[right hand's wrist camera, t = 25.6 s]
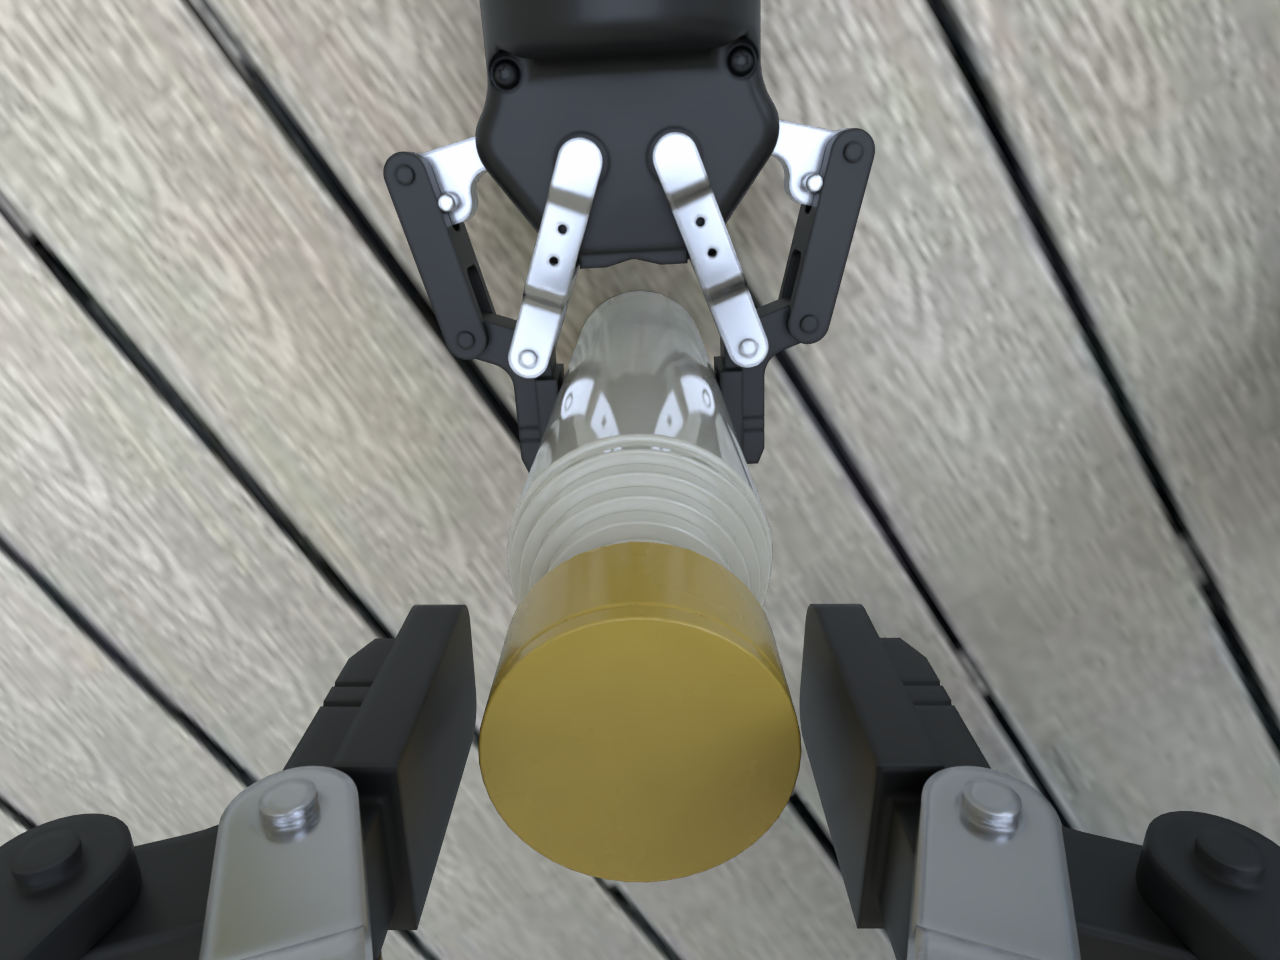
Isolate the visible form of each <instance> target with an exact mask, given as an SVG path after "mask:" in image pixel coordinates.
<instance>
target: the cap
mask: <svg viewBox="0 0 1280 960" xmlns="http://www.w3.org/2000/svg"><path fill="white" fill-rule="evenodd" d="M478 751H479V765H480V769H481V774H482V778H483V782H484V785H485V787H486V790H487V792H488V795H489V797H490V799H491V801H492V803H493V805H494V806H495V808H496V810H497V812H498V813H499V815H500V816H501V817H502V819H503V820H504V821H505V823H506V824H507V825H508V826H509V828H510V829H511V830H512V831H513V832H514V833H515V834H516V835H517V836H518V837H519V838H520V839H521V840H522V841H524V842H525V843H526V844H528V845H529V846H530V847H531V848H533V849H534V850H535V851H537V852H538V853H540V854H542V855H543V856H545V857H547V858H548V859H550V860H552V861H553V862H555V863H558V864H560V865H562V866H564V867H566V868H569V869H571V870H574V871H577V872H580V873H583V874H586V875H589V876H594V877H598V878H603V879H607V880H616V881H624V882H654V881H665V880H671V879H676V878H682V877H687V876H690V875H693V874H697V873H700V872H703V871H706V870H708V869H711V868H713V867H715V866H718V865H720V864H722V863H724V862H726V861H728V860H730V859H731V858H733V857H735V856H737V855H738V854H740V853H741V852H743V851H744V850H745V849H747V848H748V847H750V846H751V845H752V844H754V843H755V842H756V841H757V840H758V839H759V838H760V837H761V836H762V835H763V834H764V833H766V832H767V830H768V829H769V828H770V827H771V826H772V824H773V823H774V822H775V821H776V820H777V818H778V817H779V816H780V814H781V812H782V811H783V809H784V808H785V806H786V804H787V803H788V800H789V798H790V796H791V794H792V791H793V789H794V787H795V783H796V780H797V776H798V772H799V768H800V759H801V737H800V730H799V726H798V721H797V716H796V713H795V709H794V706H793V703H792V699H791V695H790V692H789V688H788V685H787V681H786V678H785V674H784V671H783V667H782V664H781V660H780V657H779V653H778V650H777V646H776V643H775V639H774V636H773V632H772V629H771V627H770V624H769V621H768V619H767V616H766V614H765V612H764V610H763V609H762V607H761V605H760V603H759V602H758V600H757V599H756V598H755V596H754V595H753V594H752V592H751V591H750V590H749V589H748V587H747V586H746V585H745V584H744V583H742V582H741V580H739V579H738V578H737V577H736V576H735V575H734V574H733V573H731V572H730V571H728V570H727V569H726V568H724V567H723V566H722V565H720V564H718V563H716V562H715V561H713V560H711V559H709V558H707V557H706V556H703V555H701V554H698V553H696V552H695V551H691V550H689V549H684V548H680V547H677V546H673V545H668V544H661V543H654V542H637V541H634V542H626V543H618V544H612V545H607V546H603V547H598V548H595V549H592V550H590V551H587V552H584V553H580V554H578V555H577V556H574V557H572V558H571V559H569V560H567V561H565V562H563V563H561V564H560V565H558V566H557V567H555V568H554V569H552V570H551V571H550V572H548V573H547V574H546V575H545V576H544V577H542V578H541V579H540V580H539V581H538V582H537V583H536V584H535V585H534V586H533V587H532V588H531V590H530V591H529V592H528V593H527V594H526V596H525V597H524V598H523V600H522V601H521V603H520V605H519V606H518V608H517V610H516V611H515V614H514V616H513V618H512V620H511V623H510V625H509V628H508V632H507V635H506V639H505V642H504V646H503V649H502V653H501V656H500V660H499V663H498V667H497V670H496V674H495V677H494V681H493V684H492V688H491V691H490V695H489V698H488V701H487V705H486V708H485V712H484V716H483V719H482V723H481V727H480V734H479V744H478Z"/></svg>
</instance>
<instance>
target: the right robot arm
mask: <svg viewBox="0 0 1280 960" xmlns="http://www.w3.org/2000/svg"><path fill="white" fill-rule="evenodd" d="M800 721H801V729H802V735H803V740H804V743H805V747H806V750H807V754H808V757H809V761H810V764H811V768H812V771H813V775H814V778H815V782H816V785H817V789H818V792H819V796H820V799H821V803H822V806H823V810H824V813H825V817H826V820H827V824H828V827H829V831H830V834H831V838H832V841H833V845H834V848H835V852H836V855H837V859H838V862H839V866H840V869H841V872H842V876H843V879H844V883H845V886H846V890H847V893H848V897H849V900H850V904H851V907H852V911H853V914H854V918H855V921H856V925H857V928H886V929H887V932H888V935H889V938H890V941H891V944H892V947H893V950H894V953H895V957H896V959H897V960H1280V847H1279V846H1278V845H1277V844H1275V843H1274V842H1273V841H1271V840H1269V839H1268V838H1266V837H1265V836H1263V835H1261V834H1260V833H1258V832H1256V831H1254V830H1252V829H1250V828H1248V827H1246V826H1244V825H1241V824H1239V823H1236V822H1234V821H1231V820H1228V819H1225V818H1222V817H1219V816H1215V815H1211V814H1206V813H1201V812H1193V811H1177V812H1169V813H1166V814H1163V815H1160V816H1158V817H1157V818H1155V819H1154V820H1153V821H1152V822H1151V823H1150V824H1149V826H1148V829H1147V831H1146V835H1145V839H1144V842H1143V846H1141V845H1137V844H1132V843H1128V842H1124V841H1119V840H1115V839H1111V838H1106V837H1102V836H1098V835H1093V834H1089V833H1085V832H1081V831H1077V830H1073V829H1070V828H1067V827H1064V826H1061V823H1060V819H1059V817H1058V815H1057V813H1056V811H1055V809H1054V808H1053V806H1052V805H1051V804H1050V803H1049V801H1048V800H1047V799H1046V798H1045V797H1044V796H1043V795H1042V794H1040V793H1039V792H1038V791H1037V790H1035V789H1034V788H1033V787H1031V786H1030V785H1028V784H1026V783H1025V782H1023V781H1021V780H1019V779H1017V778H1015V777H1013V776H1011V775H1008V774H1006V773H1003V772H1000V771H997V770H993V769H991V768H990V766H989V764H988V763H987V761H986V759H985V757H984V756H983V754H982V752H981V751H980V749H979V747H978V746H977V744H976V742H975V740H974V739H973V737H972V735H971V734H970V732H969V730H968V728H967V727H966V725H965V723H964V722H963V720H962V718H961V716H960V715H959V713H958V711H957V710H956V708H955V706H952V705H951V699H950V698H949V696H948V694H947V693H946V691H945V689H944V687H943V686H940V681H939V679H938V677H937V675H936V674H935V672H934V670H933V669H932V667H931V665H930V663H929V662H928V660H927V658H926V657H924V656H923V655H922V654H920V653H919V652H918V651H917V650H915V649H914V648H913V647H911V646H910V645H909V644H907V643H906V642H905V641H903V640H902V639H901V638H879V636H878V634H877V632H876V630H875V628H874V626H873V624H872V622H871V620H870V618H869V616H868V614H867V612H866V610H865V608H864V607H863V606H862V605H861V604H810V605H809V607H808V610H807V615H806V624H805V636H804V649H803V661H802V674H801V686H800ZM475 722H476V687H475V675H474V663H473V651H472V639H471V626H470V617H469V612H468V608H467V606H466V605H414V606H413V607H412V608H411V610H410V612H409V614H408V616H407V618H406V620H405V622H404V624H403V626H402V627H401V629H400V631H399V633H398V635H397V637H396V639H374V640H373V641H372V642H370V643H369V644H368V645H366V646H365V647H364V648H362V649H361V650H360V651H359V652H357V653H356V654H355V655H353V656H352V657H351V658H349V660H348V661H347V663H346V665H345V666H344V668H343V670H342V671H341V673H340V675H339V676H338V678H337V680H336V681H335V687H332V688H331V690H330V692H329V693H328V695H327V697H326V698H325V700H324V705H323V707H320V708H319V710H318V712H317V713H316V715H315V717H314V719H313V720H312V722H311V724H310V725H309V727H308V729H307V730H306V732H305V734H304V735H303V737H302V739H301V740H300V742H299V744H298V745H297V747H296V749H295V751H294V752H293V754H292V756H291V757H290V759H289V761H288V762H287V764H286V766H285V767H284V769H283V771H280V772H277V773H274V774H272V775H269V776H267V777H265V778H263V779H261V780H259V781H257V782H255V783H254V784H252V785H250V786H249V787H247V788H246V789H245V790H243V791H242V792H241V793H240V794H238V795H237V796H236V797H235V798H234V799H233V800H232V801H231V803H230V804H229V805H228V806H227V808H226V809H225V811H224V813H223V815H222V817H221V819H220V823H219V825H216V826H214V827H211V828H208V829H205V830H202V831H198V832H195V833H191V834H187V835H182V836H178V837H174V838H169V839H165V840H161V841H156V842H152V843H148V844H143V845H139V846H135V847H134V845H133V841H132V838H131V834H130V831H129V829H128V827H127V826H126V825H125V823H124V822H123V821H121V820H119V819H118V818H116V817H113V816H109V815H104V814H81V815H73V816H69V817H64V818H60V819H57V820H53V821H50V822H47V823H44V824H42V825H40V826H37V827H35V828H32V829H30V830H28V831H26V832H24V833H22V834H20V835H18V836H17V837H15V838H13V839H12V840H10V841H8V842H7V843H5V844H4V845H2V846H1V847H0V960H383V958H382V952H381V949H382V946H383V943H384V940H385V937H386V934H387V931H388V930H417V928H418V925H419V921H420V918H421V914H422V911H423V908H424V904H425V901H426V897H427V894H428V890H429V887H430V884H431V880H432V877H433V873H434V870H435V867H436V863H437V860H438V856H439V853H440V850H441V846H442V843H443V839H444V836H445V832H446V829H447V826H448V822H449V819H450V815H451V812H452V809H453V805H454V802H455V798H456V795H457V791H458V788H459V785H460V781H461V778H462V774H463V771H464V768H465V764H466V761H467V757H468V754H469V751H470V747H471V744H472V740H473V736H474V730H475Z"/></svg>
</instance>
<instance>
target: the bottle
mask: <svg viewBox="0 0 1280 960" xmlns="http://www.w3.org/2000/svg"><path fill="white" fill-rule="evenodd" d="M634 541H637V542H654V543H661V544H668V545H673V546H677V547H680V548H684V549H689V550H691V551H695V552H696V553H698V554H701V555H703V556H706V557H707V558H709V559H711V560H713V561H715V562H716V563H718V564H720V565H722V566H723V567H724V568H726V569H727V570H728V571H730V572H731V573H733V574H734V575H735V576H736V577H737V578H738V579H739V580H741V582H742V583H744V584H745V585H746V586H747V587H748V589H749V590H750V591H751V592H752V594H753V595H754V596H755V598H756V599H757V600H758V602H759V603H760V605H761V607H762V606H763V604H764V601H765V598H766V594H767V590H768V587H769V579H770V575H771V569H772V560H773V551H772V538H771V532H770V527H769V524H768V521H767V518H766V515H765V511H764V509H763V506H762V503H761V500H760V498H759V495H758V492H757V489H756V487H755V484H754V481H753V478H752V476H751V473H750V470H749V467H748V465H747V462H746V459H745V456H744V454H743V451H742V448H741V445H740V443H739V440H738V437H737V434H736V432H735V429H734V426H733V423H732V421H731V418H730V415H729V412H728V410H727V407H726V404H725V401H724V399H723V396H722V393H721V390H720V388H719V385H718V382H717V379H716V377H715V374H714V371H713V368H712V365H711V363H710V360H709V357H708V354H707V352H706V349H705V346H704V343H703V341H702V338H701V335H700V332H699V330H698V328H697V326H696V324H695V322H694V320H693V319H692V317H691V316H690V315H689V314H688V312H687V311H686V310H685V309H684V308H683V307H682V306H680V305H679V304H678V303H676V302H675V301H673V300H672V299H670V298H668V297H666V296H664V295H661V294H658V293H654V292H648V291H633V292H627V293H622V294H620V295H617V296H614V297H612V298H610V299H608V300H607V301H605V302H604V303H602V304H601V305H600V306H599V307H598V308H596V309H595V310H594V311H593V313H592V314H591V315H590V316H589V318H588V319H587V321H586V322H585V324H584V326H583V328H582V331H581V333H580V336H579V338H578V341H577V344H576V347H575V349H574V352H573V355H572V358H571V360H570V363H569V366H568V369H567V371H566V374H565V377H564V380H563V382H562V385H561V388H560V390H559V393H558V396H557V399H556V401H555V404H554V407H553V410H552V412H551V415H550V418H549V421H548V423H547V426H546V429H545V432H544V434H543V437H542V440H541V442H540V445H539V448H538V451H537V453H536V456H535V459H534V462H533V464H532V467H531V470H530V473H529V475H528V478H527V481H526V484H525V486H524V489H523V492H522V494H521V497H520V500H519V503H518V505H517V508H516V511H515V514H514V517H513V520H512V524H511V527H510V530H509V538H508V545H507V562H508V569H509V576H510V580H511V587H512V591H513V595H514V598H515V601H516V604H517V607H518V606H519V605H520V603H521V601H522V600H523V598H524V597H525V596H526V594H527V593H528V592H529V591H530V590H531V588H532V587H533V586H534V585H535V584H536V583H537V582H538V581H539V580H540V579H541V578H542V577H544V576H545V575H546V574H547V573H548V572H550V571H551V570H552V569H554V568H555V567H557V566H558V565H560V564H561V563H563V562H565V561H567V560H569V559H571V558H572V557H574V556H577V555H578V554H580V553H584V552H587V551H590V550H592V549H595V548H598V547H603V546H607V545H612V544H618V543H626V542H634Z"/></svg>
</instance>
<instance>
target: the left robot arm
mask: <svg viewBox="0 0 1280 960" xmlns="http://www.w3.org/2000/svg"><path fill="white" fill-rule="evenodd" d="M480 8H481V17H482V27H483V37H484V46H485V56H486V66H487V77H488V89H487V96H486V101H485V105H484V109H483V112H482V114H481V117H480V119H479V121H478V124H477V128H476V134H475V137H472V138H469V139H465V140H462V141H459V142H456V143H453V144H450V145H447V146H444V147H441V148H438V149H434V150H431V151H428V152H425V153H415V152H398V153H395V154H393V155H392V156H390V157H389V158H388V160H387V161H386V163H385V166H384V173H383V174H384V180H385V183H386V185H387V188H388V191H389V193H390V196H391V199H392V201H393V204H394V207H395V209H396V212H397V214H398V217H399V220H400V222H401V225H402V228H403V230H404V233H405V236H406V238H407V241H408V244H409V246H410V249H411V252H412V254H413V257H414V260H415V262H416V265H417V268H418V270H419V273H420V276H421V278H422V281H423V284H424V286H425V289H426V291H427V294H428V297H429V299H430V302H431V305H432V307H433V310H434V313H435V315H436V318H437V321H438V323H439V326H440V329H441V331H442V334H443V337H444V339H445V342H446V345H447V347H448V349H449V350H450V352H451V353H452V354H453V355H454V356H456V357H458V358H460V359H463V360H472V359H478V360H481V361H485V362H488V363H491V364H495V365H497V366H499V367H501V368H503V369H504V370H505V371H506V372H507V373H508V374H509V375H510V377H511V379H512V381H513V384H514V391H515V401H516V410H517V419H518V428H519V438H520V448H521V457H522V461H523V462H524V464H525V466H526V468H527V470H528V472H529V473H530V470H531V467H532V464H533V462H534V459H535V456H536V453H537V451H538V448H539V445H540V442H541V440H542V437H543V434H544V432H545V429H546V426H547V423H548V421H549V418H550V415H551V412H552V410H553V407H554V404H555V401H556V399H557V396H558V393H559V390H560V388H561V385H562V382H563V380H564V366H563V364H556V353H555V349H556V345H557V342H558V338H559V335H560V331H561V328H562V324H563V321H564V317H565V313H566V310H567V306H568V303H569V299H570V296H571V293H572V290H573V287H574V284H575V280H576V277H577V273H578V269H579V266H580V269H584V268H603V267H609V266H612V265H615V264H618V263H621V262H624V261H627V260H630V259H638V260H643V261H647V262H652V263H657V264H680V263H687V260H688V259H690V262H691V264H692V267H693V269H694V272H695V274H696V277H697V279H698V282H699V284H700V287H701V289H702V291H703V294H704V296H705V299H706V301H707V304H708V306H709V309H710V311H711V314H712V316H713V319H714V322H715V324H716V327H717V329H718V332H719V334H720V351H721V356H718V357H714V374H715V377H716V379H717V382H718V385H719V388H720V390H721V393H722V396H723V399H724V401H725V404H726V407H727V410H728V412H729V415H730V418H731V421H732V423H733V426H734V429H735V432H736V434H737V437H738V440H739V443H740V445H741V448H742V451H743V454H744V456H745V459H746V462H747V464H753V463H758V462H759V459H760V457H761V455H762V452H763V450H764V373H765V368H766V366H767V364H768V362H769V360H770V359H771V358H772V357H773V356H774V355H775V354H777V353H778V352H780V351H782V350H785V349H787V348H789V347H792V346H794V345H797V344H799V343H803V344H812V343H815V342H818V341H819V340H821V339H822V338H823V337H824V336H825V334H826V333H827V331H828V328H829V325H830V321H831V317H832V313H833V310H834V306H835V302H836V298H837V295H838V291H839V287H840V283H841V280H842V276H843V272H844V268H845V264H846V261H847V257H848V253H849V249H850V246H851V242H852V238H853V234H854V230H855V227H856V223H857V219H858V215H859V212H860V208H861V204H862V200H863V196H864V193H865V189H866V185H867V181H868V178H869V174H870V170H871V166H872V162H873V159H874V154H875V145H874V141H873V139H872V137H871V136H870V135H869V134H868V133H867V132H866V131H864V130H862V129H858V128H845V129H840V130H836V131H833V130H828V129H823V128H818V127H813V126H808V125H803V124H798V123H794V122H789V121H784V120H779V117H778V113H777V110H776V107H775V105H774V103H773V102H772V100H771V98H770V96H769V94H768V92H767V89H766V87H765V84H764V80H763V76H762V71H761V58H760V0H480ZM770 156H773V157H775V158H776V159H778V160H779V161H780V163H781V164H782V166H783V169H784V174H785V178H784V188H785V192H786V194H787V195H788V197H789V198H790V199H791V200H792V201H794V202H796V203H799V204H801V207H800V211H799V215H798V220H797V224H796V228H795V232H794V236H793V240H792V244H791V249H790V253H789V257H788V261H787V265H786V269H785V274H784V278H783V282H782V286H781V290H780V294H779V298H778V300H776V301H774V302H771V303H769V304H767V305H764V306H762V307H760V308H757V309H756V308H755V306H754V303H753V300H752V298H751V295H750V293H749V290H748V287H747V283H746V279H745V276H744V273H743V271H742V268H741V265H740V263H739V260H738V257H737V255H736V252H735V250H734V247H733V244H732V242H731V239H730V236H729V234H728V231H727V228H726V226H725V224H726V223H727V221H728V220H729V218H730V217H731V215H732V214H733V212H734V211H735V209H736V208H737V206H738V205H739V203H740V202H741V200H742V199H743V197H744V195H745V194H746V192H747V191H748V189H749V188H750V186H751V185H752V183H753V182H754V180H755V179H756V177H757V176H758V174H759V173H760V171H761V170H762V168H763V167H764V165H765V164H766V162H767V160H768V159H769V157H770ZM487 171H488V173H489V174H490V175H491V176H492V178H493V179H494V180H495V181H496V182H497V184H498V185H499V186H500V187H501V189H502V190H503V191H504V192H505V193H506V195H507V196H508V197H509V198H510V200H511V201H512V202H513V203H514V204H515V206H516V207H517V208H518V209H519V211H520V212H521V213H522V214H523V216H524V217H525V218H526V219H527V220H528V222H529V223H530V224H531V225H532V227H533V228H534V229H535V230H536V231H537V233H538V237H537V241H536V245H535V248H534V252H533V256H532V260H531V264H530V268H529V271H528V275H527V279H526V283H525V287H524V292H523V300H522V304H521V308H520V312H519V316H518V320H513V319H510V318H507V317H503V316H500V315H497V314H496V313H495V310H494V307H493V304H492V301H491V298H490V296H489V293H488V290H487V287H486V284H485V281H484V278H483V276H482V273H481V270H480V267H479V264H478V261H477V258H476V256H475V253H474V250H473V247H472V244H471V241H470V239H469V236H468V233H467V230H466V227H465V224H464V221H467V220H469V219H470V218H472V217H473V215H474V214H475V212H476V210H477V207H478V198H477V193H476V188H477V183H478V181H479V178H480V177H481V176H482V175H483V174H484V173H485V172H487Z"/></svg>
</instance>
